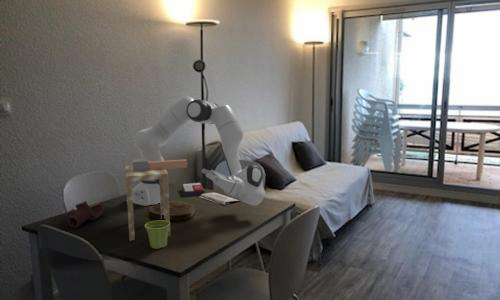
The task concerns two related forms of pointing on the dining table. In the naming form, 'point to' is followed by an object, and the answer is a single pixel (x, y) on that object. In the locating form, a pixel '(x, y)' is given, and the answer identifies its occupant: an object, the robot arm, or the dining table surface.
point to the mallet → (157, 164)
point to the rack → (164, 193)
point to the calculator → (192, 189)
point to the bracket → (84, 213)
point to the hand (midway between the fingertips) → (204, 172)
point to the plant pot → (157, 233)
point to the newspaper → (218, 198)
